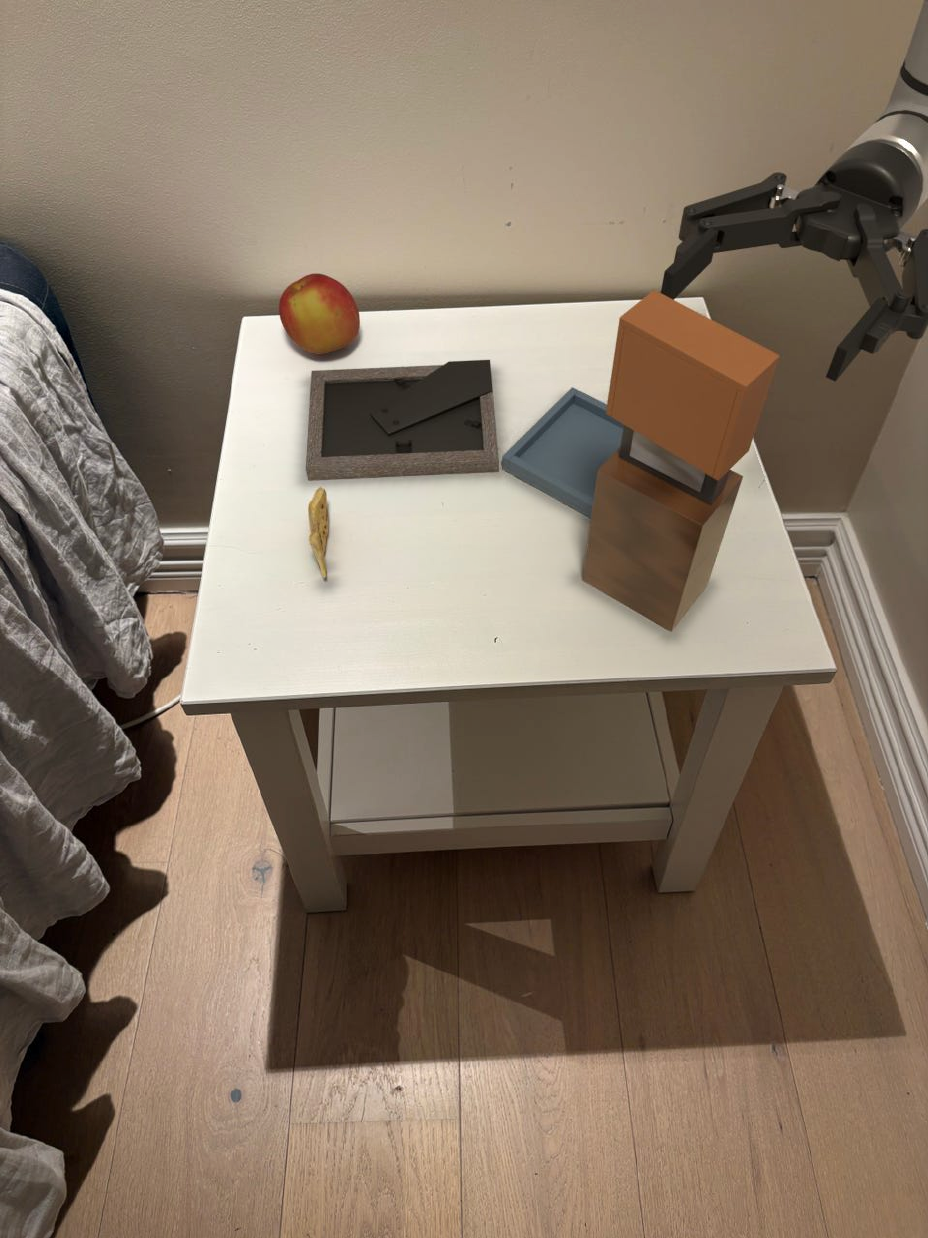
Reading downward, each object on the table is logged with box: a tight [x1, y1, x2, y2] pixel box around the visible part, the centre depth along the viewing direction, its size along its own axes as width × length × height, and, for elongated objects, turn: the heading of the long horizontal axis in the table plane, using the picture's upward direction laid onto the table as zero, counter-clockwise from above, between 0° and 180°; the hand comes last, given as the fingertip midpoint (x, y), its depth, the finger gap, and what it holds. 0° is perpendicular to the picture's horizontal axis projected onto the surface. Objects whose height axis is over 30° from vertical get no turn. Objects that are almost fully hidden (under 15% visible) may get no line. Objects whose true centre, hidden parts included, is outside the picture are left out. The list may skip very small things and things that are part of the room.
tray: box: [501, 387, 624, 519], centre depth 91 cm, size 14×12×2 cm
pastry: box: [307, 486, 329, 579], centre depth 85 cm, size 9×2×5 cm, turn 4°
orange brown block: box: [606, 289, 781, 481], centre depth 66 cm, size 10×4×9 cm, turn 47°
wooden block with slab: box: [581, 425, 744, 632], centre depth 73 cm, size 9×6×26 cm, turn 52°
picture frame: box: [305, 359, 500, 481], centre depth 94 cm, size 13×2×18 cm
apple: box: [278, 273, 361, 355], centre depth 98 cm, size 8×8×8 cm
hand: (747, 325), depth 69 cm, fingers open, 13 cm apart
